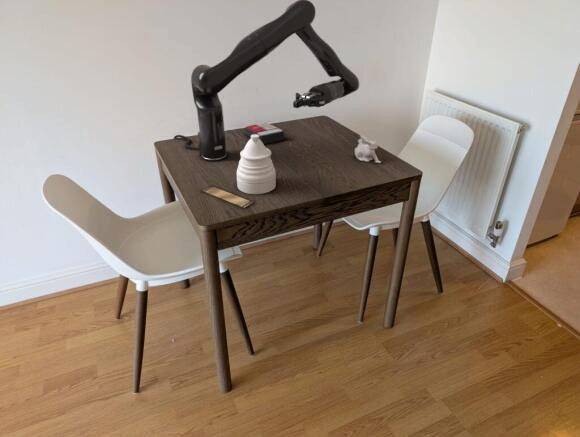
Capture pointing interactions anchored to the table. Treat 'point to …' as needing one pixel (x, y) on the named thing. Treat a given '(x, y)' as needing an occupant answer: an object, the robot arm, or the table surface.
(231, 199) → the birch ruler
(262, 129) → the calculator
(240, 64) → the robot arm
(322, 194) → the table surface
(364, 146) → the white lumpy figure
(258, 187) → the honey pot
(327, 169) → the table surface
